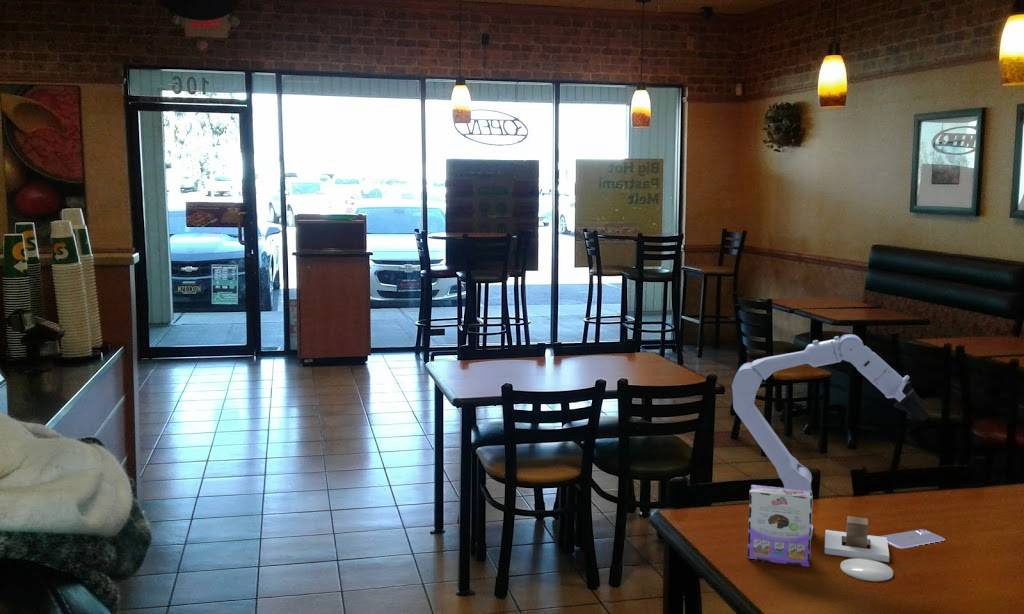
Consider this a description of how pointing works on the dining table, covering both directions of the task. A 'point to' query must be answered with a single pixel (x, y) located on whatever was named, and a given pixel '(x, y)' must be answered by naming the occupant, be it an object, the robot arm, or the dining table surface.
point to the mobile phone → (912, 538)
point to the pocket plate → (875, 552)
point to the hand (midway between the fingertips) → (925, 414)
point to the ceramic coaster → (866, 569)
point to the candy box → (780, 525)
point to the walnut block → (857, 532)
